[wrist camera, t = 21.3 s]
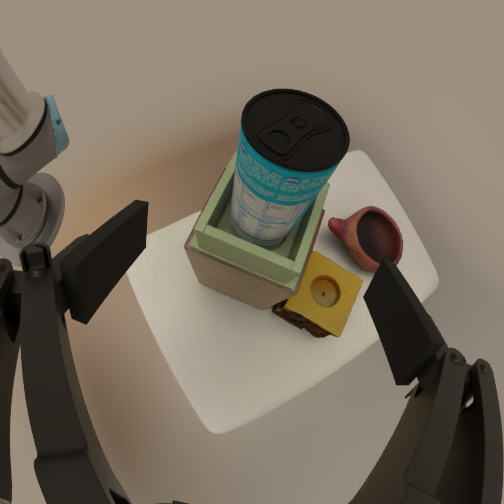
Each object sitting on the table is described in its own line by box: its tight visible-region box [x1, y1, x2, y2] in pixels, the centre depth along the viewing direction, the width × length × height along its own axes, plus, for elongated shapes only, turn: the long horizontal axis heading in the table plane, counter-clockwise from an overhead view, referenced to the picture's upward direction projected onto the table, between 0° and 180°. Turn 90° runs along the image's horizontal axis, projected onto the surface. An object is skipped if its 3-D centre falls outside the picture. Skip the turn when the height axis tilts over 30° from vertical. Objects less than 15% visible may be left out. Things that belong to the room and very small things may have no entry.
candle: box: [272, 251, 363, 338], centre depth 44 cm, size 10×10×10 cm
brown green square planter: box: [184, 168, 325, 310], centre depth 38 cm, size 12×10×22 cm
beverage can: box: [230, 89, 350, 251], centre depth 20 cm, size 6×6×15 cm
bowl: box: [328, 206, 403, 273], centre depth 49 cm, size 16×13×8 cm
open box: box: [189, 150, 330, 290], centre depth 25 cm, size 11×10×5 cm
